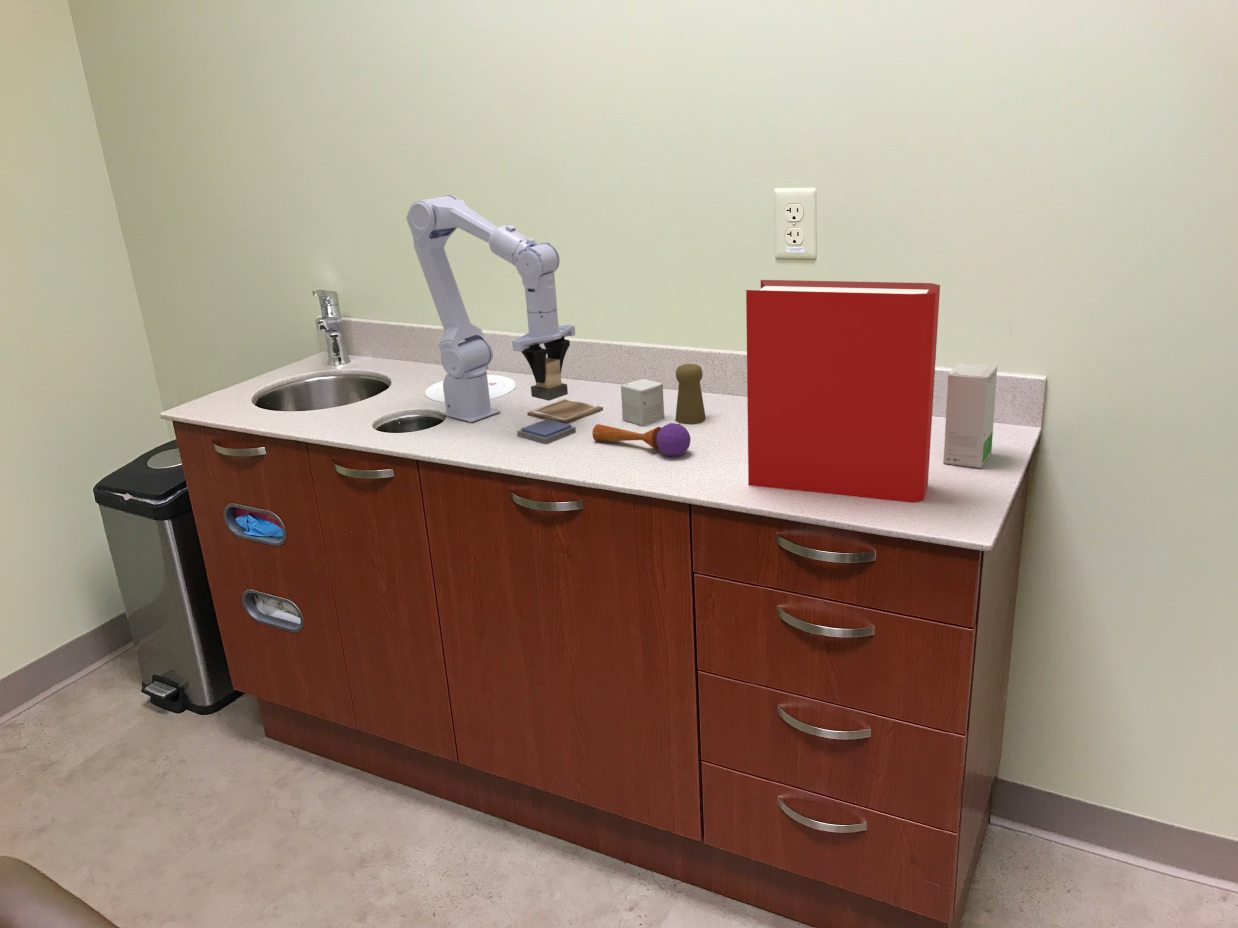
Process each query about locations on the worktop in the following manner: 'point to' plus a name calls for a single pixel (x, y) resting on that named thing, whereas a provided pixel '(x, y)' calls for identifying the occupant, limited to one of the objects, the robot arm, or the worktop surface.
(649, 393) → the skincare box
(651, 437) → the purple maraca
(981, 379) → the skincare box
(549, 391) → the stamp
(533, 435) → the ink pad
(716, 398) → the worktop surface
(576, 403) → the board
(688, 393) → the cork
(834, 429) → the book
